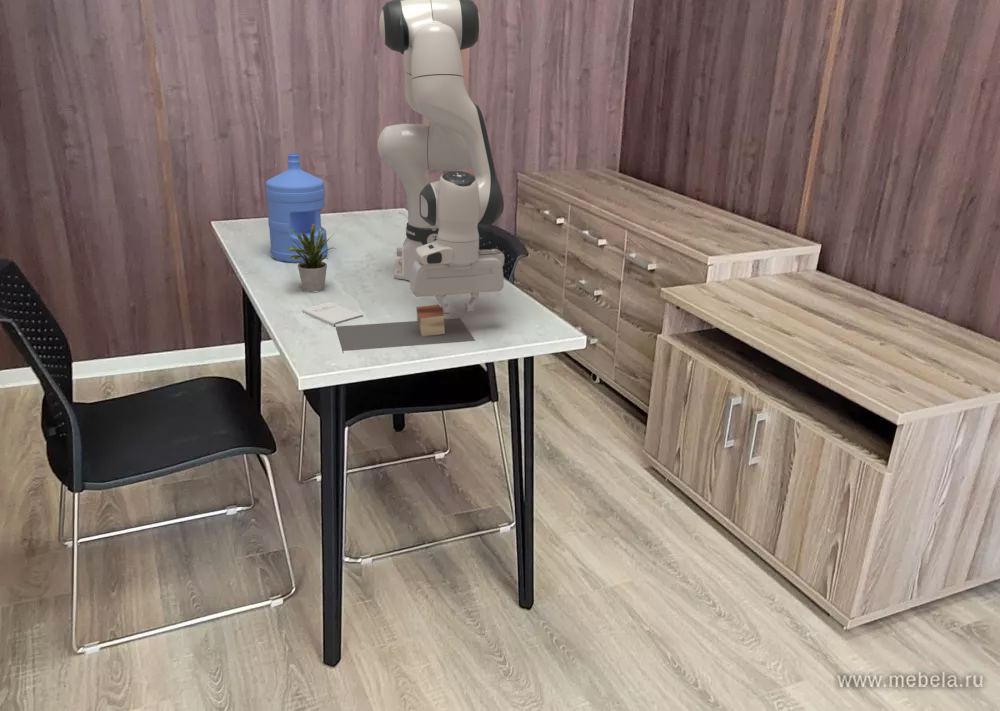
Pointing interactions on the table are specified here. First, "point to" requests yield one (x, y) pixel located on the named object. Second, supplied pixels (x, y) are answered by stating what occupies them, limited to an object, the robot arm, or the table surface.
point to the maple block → (430, 320)
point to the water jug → (294, 209)
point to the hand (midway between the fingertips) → (457, 312)
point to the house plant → (311, 260)
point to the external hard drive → (331, 313)
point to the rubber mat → (398, 335)
